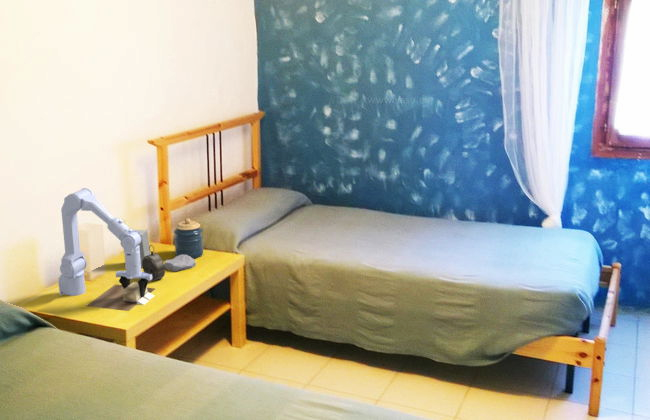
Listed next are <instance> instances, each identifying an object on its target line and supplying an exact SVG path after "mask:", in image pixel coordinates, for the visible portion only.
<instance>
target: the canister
mask: <svg viewBox="0 0 650 420" xmlns="http://www.w3.org/2000/svg"><path fill="white" fill-rule="evenodd" d="M202 232H203V228H201V224H200V223H198V222H197V221H194V220H191V219H190V218H189V217H188V218H186V219H184V221H183V220H182V221H181V222H178V223H177V224H176V225H175V229H174V230H173V233H174V234H175V235H174V238H173V239H174V249H175V250H174V254H175V257H177V256H179V255H182V254H183V255H188V256H190V257H192V258H193V259H194V260H195V259H197V258H200V257H202V256H203V255H204V245H203V244H204V242H203V235H202Z"/></svg>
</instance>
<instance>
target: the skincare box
mask: <svg viewBox="0 0 650 420" xmlns="http://www.w3.org/2000/svg"><path fill="white" fill-rule="evenodd" d="M134 230H135V231H138V232H139V234H140V235H141V237H142V241H141V243H140V244H139V246H140V260H141V268H143V267H142V261H143V258H144V257H145V256H147V255H150V254H151V252H150V250H151V249H150V250H149V246H150V241H149V232H148V229H134Z"/></svg>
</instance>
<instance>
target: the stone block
mask: <svg viewBox="0 0 650 420" xmlns="http://www.w3.org/2000/svg"><path fill="white" fill-rule="evenodd" d="M163 263H164V266H165V270H168V271H169V270H170V271H172V272H181V271H184V270H188V269H192V268H194V267H196V265H197V262H196V260H195V258H194V259H193V258H192V257H190V256H188V255H183V254H182V255H179V256H177V257H176V256H175V257H174V258H172V259H166V260H165V261H164V262H163Z"/></svg>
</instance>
